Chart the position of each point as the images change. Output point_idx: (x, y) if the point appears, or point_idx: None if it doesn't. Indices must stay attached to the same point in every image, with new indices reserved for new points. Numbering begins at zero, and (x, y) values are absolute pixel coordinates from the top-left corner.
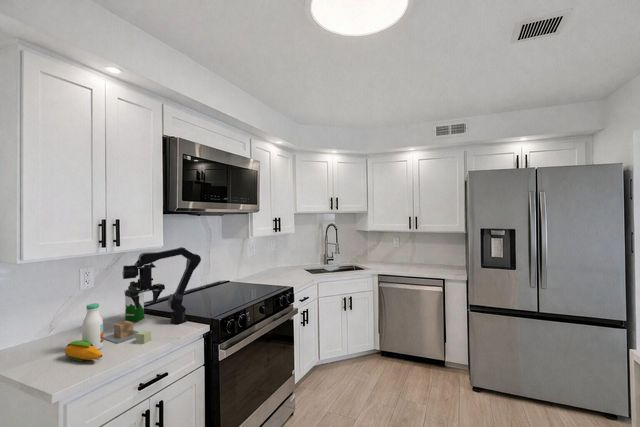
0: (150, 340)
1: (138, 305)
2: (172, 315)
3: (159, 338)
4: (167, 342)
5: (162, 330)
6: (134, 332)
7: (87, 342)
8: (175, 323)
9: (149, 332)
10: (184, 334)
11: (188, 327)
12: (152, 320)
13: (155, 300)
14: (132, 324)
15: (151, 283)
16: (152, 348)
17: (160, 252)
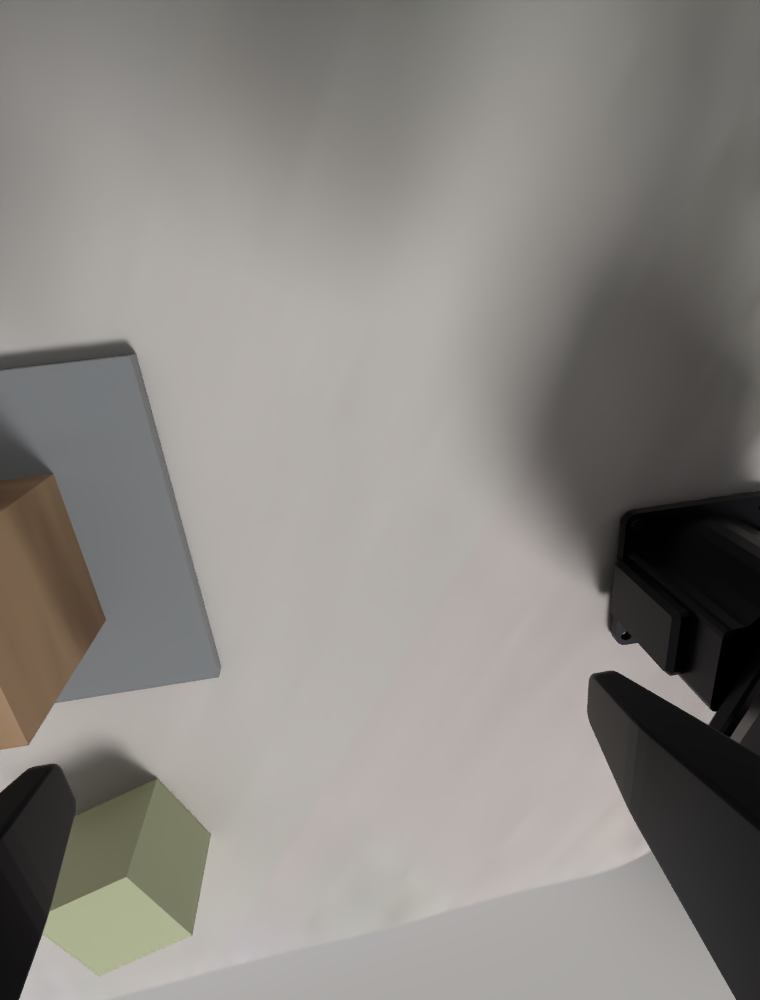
0: (205, 838)
1: (28, 944)
2: (674, 644)
3: (285, 840)
4: (289, 938)
5: (416, 680)
6: (140, 561)
7: None
8: (617, 621)
9: (173, 936)
10: (470, 883)
11: (607, 772)
12: (587, 152)
13: (660, 859)
14: (31, 724)
15: None
16: (154, 968)
17: None
